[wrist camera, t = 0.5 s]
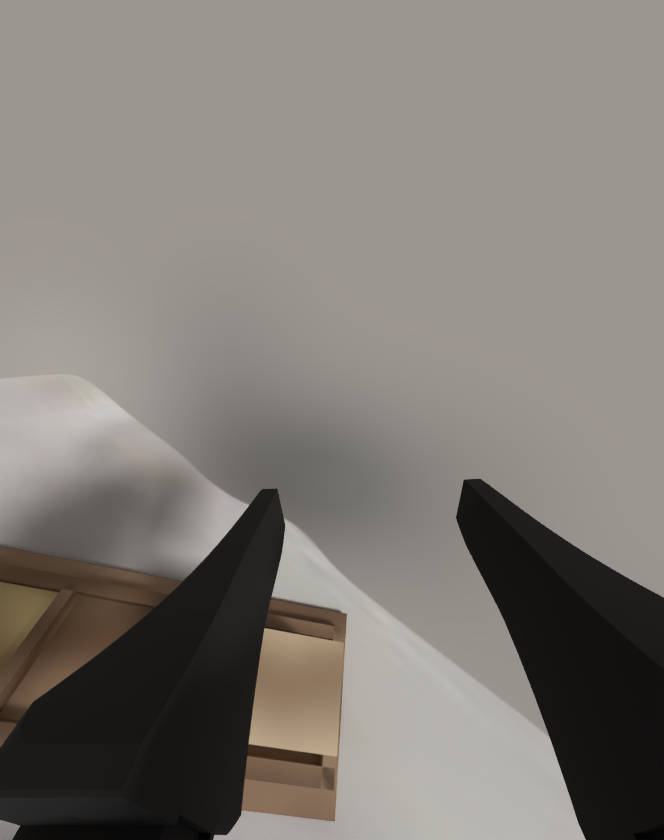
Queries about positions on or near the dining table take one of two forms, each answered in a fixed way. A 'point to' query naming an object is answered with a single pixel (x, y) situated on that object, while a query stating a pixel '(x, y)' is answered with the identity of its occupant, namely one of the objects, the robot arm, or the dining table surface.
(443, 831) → the dining table surface
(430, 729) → the dining table surface
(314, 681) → the plain beige carton
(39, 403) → the dining table surface
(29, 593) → the brown framed tray
